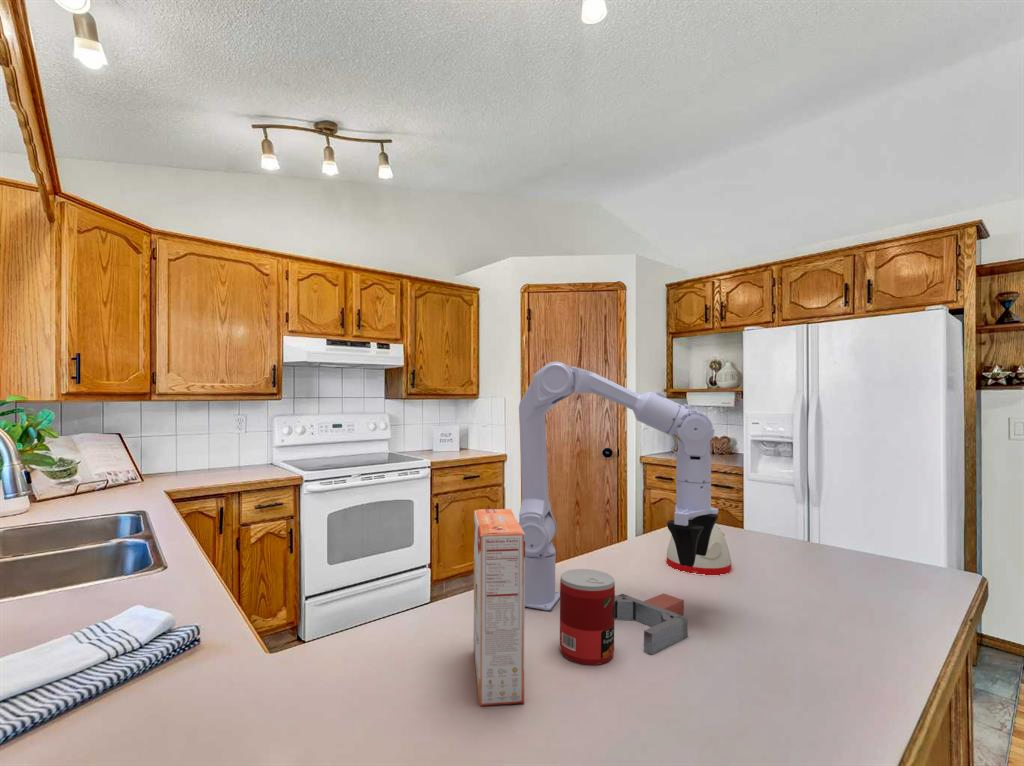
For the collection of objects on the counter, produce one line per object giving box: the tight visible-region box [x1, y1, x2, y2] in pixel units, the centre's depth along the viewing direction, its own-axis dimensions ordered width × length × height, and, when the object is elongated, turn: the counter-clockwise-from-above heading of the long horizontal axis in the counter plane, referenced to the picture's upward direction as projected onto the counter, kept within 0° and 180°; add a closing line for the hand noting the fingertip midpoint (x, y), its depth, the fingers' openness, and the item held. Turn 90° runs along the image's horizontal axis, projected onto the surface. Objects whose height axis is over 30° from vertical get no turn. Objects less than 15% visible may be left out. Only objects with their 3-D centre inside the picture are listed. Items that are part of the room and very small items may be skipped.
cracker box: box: [473, 508, 526, 707], centre depth 69 cm, size 14×6×21 cm, turn 7°
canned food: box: [559, 568, 616, 666], centre depth 76 cm, size 8×8×11 cm
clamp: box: [614, 592, 689, 656], centre depth 85 cm, size 15×13×3 cm
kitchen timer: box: [666, 505, 732, 576], centre depth 118 cm, size 14×14×15 cm
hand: (693, 559), depth 89 cm, fingers open, 7 cm apart
